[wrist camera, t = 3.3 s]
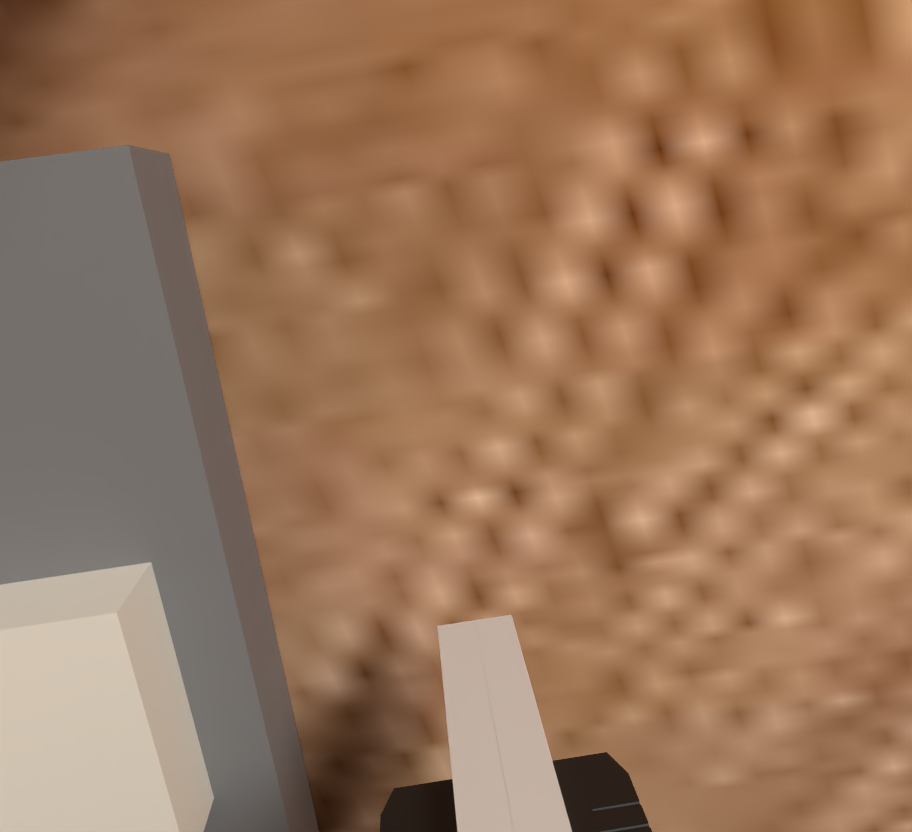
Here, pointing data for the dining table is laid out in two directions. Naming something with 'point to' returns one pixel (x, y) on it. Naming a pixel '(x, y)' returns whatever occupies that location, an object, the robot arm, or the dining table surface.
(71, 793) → the cream flat block
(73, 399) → the plate
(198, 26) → the dining table surface
